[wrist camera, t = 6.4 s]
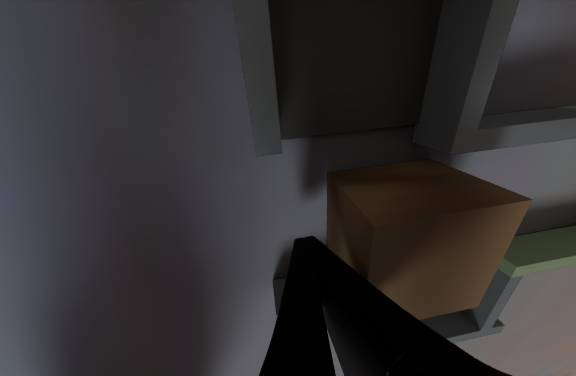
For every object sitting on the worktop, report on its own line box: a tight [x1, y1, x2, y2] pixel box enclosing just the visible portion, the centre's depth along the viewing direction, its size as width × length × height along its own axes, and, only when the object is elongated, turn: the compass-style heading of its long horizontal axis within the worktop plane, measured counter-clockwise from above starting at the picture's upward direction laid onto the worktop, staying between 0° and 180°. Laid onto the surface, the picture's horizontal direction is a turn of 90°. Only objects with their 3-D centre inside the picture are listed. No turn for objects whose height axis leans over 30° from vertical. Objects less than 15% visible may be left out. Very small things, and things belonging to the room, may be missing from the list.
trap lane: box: [233, 0, 576, 343], centre depth 10 cm, size 21×20×3 cm
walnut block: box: [327, 159, 533, 320], centre depth 9 cm, size 5×5×4 cm
